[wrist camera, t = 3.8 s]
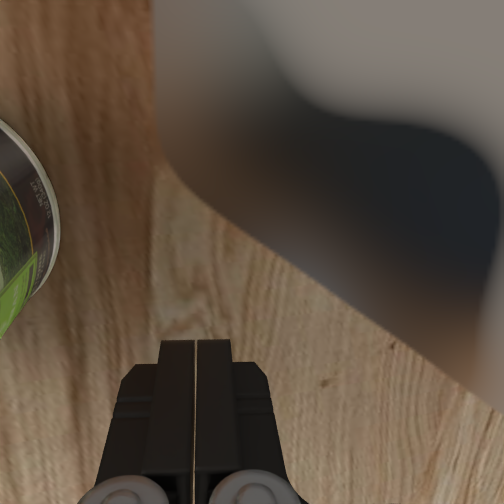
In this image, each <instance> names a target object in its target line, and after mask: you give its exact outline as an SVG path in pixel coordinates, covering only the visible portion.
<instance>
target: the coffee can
mask: <svg viewBox="0 0 504 504" xmlns="http://www.w3.org/2000/svg"><path fill="white" fill-rule="evenodd" d="M59 243H60V215H59V208H58V203H57V199H56V195H55V192H54V189H53V187H52V184H51V182H50V180H49V178H48V176H47V174H46V172H45V170H44V168H43V166H42V164H41V163H40V161H39V160H38V158H37V157H36V155H35V154H34V153H33V151H32V150H31V149H30V148H29V146H28V145H27V144H26V143H25V141H24V140H23V139H22V138H21V137H20V136H19V135H18V134H17V133H16V132H15V131H14V130H13V129H12V128H11V127H10V126H9V125H8V124H6V123H5V122H4V121H3V120H1V119H0V339H1V337H2V336H3V334H4V333H5V332H6V330H7V329H8V327H9V326H10V325H11V323H12V322H13V321H14V319H15V318H16V316H17V315H18V314H19V312H20V311H21V310H22V308H23V307H24V306H25V304H26V303H27V302H28V300H29V299H30V298H31V297H32V296H33V295H34V294H35V293H36V292H37V291H38V290H39V288H40V287H41V286H42V285H43V284H44V282H45V281H46V280H47V278H48V276H49V274H50V272H51V270H52V268H53V266H54V263H55V260H56V257H57V254H58V249H59Z"/></svg>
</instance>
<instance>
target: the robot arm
mask: <svg viewBox="0 0 504 504" xmlns="http://www.w3.org/2000/svg"><path fill="white" fill-rule="evenodd" d="M194 425H195V340H162V341H161V344H160V351H159V358H158V364H135V366H134V367H133V368H132V369H131V370H130V371H129V372H128V374H127V375H126V376H125V377H124V378H123V379H122V380H121V384H120V388H119V392H118V396H117V403H116V404H115V408H114V412H113V419H112V420H111V424H110V427H109V431H108V435H107V439H106V443H105V447H104V451H103V455H102V459H101V463H100V467H99V471H98V474H97V478H96V482H95V485H94V487H93V488H92V489H90V490H89V491H88V492H87V493H86V494H85V495H84V496H83V497H82V498H81V499H80V500H79V502H78V503H77V504H193V467H194ZM195 504H309V503H307V502H306V501H305V500H304V499H302V498H301V497H300V496H299V495H298V494H297V493H296V491H295V490H294V489H293V487H292V486H291V484H290V482H289V480H288V477H287V474H286V470H285V465H284V460H283V455H282V450H281V445H280V440H279V435H278V430H277V425H276V420H275V415H274V413H273V405H272V400H271V398H270V390H269V385H268V380H267V376H266V375H265V374H264V373H263V372H262V370H261V369H260V368H259V367H258V366H257V364H256V363H255V362H232V353H231V343H230V339H212V340H197V386H196V435H195Z"/></svg>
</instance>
